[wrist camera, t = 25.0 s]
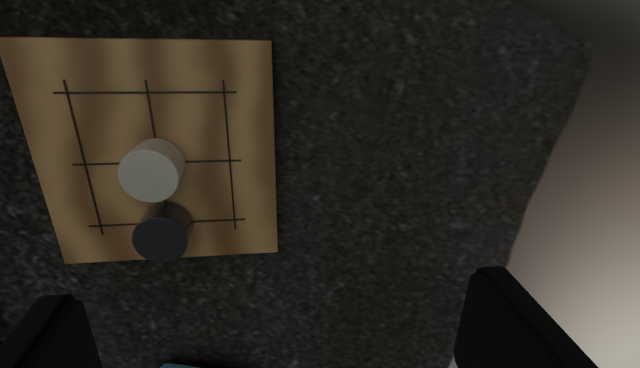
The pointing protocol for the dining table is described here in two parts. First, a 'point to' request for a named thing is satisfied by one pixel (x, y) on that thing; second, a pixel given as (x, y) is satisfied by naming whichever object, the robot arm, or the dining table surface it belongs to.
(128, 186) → the white stone
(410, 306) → the dining table surface
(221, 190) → the board
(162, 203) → the hockey puck
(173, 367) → the teapot
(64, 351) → the robot arm
